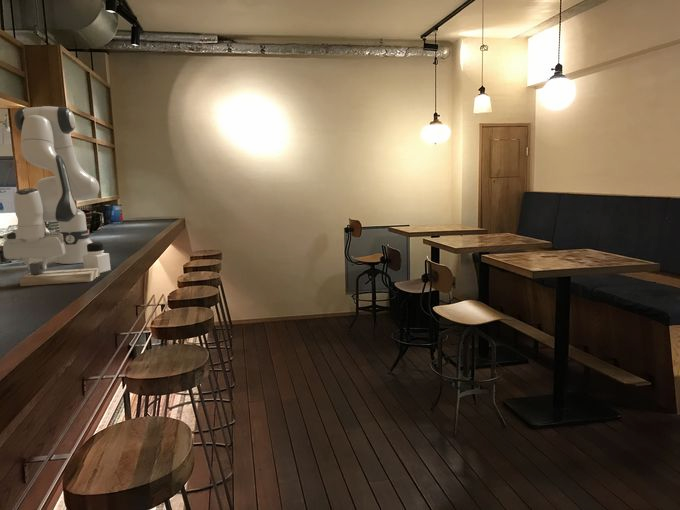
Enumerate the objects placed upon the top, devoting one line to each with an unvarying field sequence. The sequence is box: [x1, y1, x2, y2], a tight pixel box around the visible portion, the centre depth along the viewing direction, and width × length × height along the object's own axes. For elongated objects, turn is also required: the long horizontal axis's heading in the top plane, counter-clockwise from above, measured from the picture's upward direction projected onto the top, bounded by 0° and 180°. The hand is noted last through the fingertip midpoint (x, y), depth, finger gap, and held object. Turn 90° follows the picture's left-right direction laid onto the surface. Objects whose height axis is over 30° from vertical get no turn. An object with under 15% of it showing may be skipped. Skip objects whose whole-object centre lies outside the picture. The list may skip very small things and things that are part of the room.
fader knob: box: [29, 261, 46, 274], centre depth 190 cm, size 5×3×4 cm, turn 10°
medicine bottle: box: [83, 241, 112, 274], centre depth 207 cm, size 7×7×12 cm
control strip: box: [19, 267, 101, 287], centre depth 192 cm, size 12×24×3 cm, turn 100°
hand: (37, 269), depth 191 cm, fingers closed on fader knob, 3 cm apart
